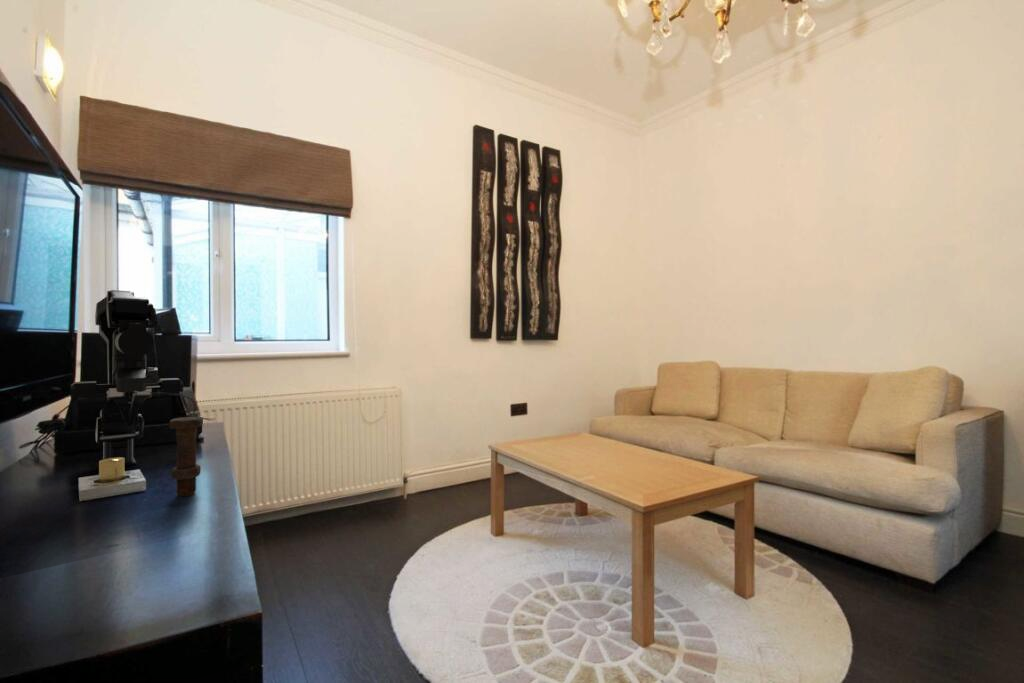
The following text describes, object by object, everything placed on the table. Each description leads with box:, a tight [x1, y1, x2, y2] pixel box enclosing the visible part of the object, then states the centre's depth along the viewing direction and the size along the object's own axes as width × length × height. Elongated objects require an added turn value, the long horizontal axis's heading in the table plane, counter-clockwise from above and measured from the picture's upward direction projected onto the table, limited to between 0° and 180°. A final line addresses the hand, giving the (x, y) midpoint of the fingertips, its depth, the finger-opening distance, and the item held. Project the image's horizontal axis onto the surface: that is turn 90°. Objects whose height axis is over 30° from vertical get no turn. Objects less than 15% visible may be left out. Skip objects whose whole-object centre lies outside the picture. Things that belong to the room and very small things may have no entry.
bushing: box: [98, 458, 126, 483], centre depth 98 cm, size 4×4×6 cm
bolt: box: [168, 416, 204, 497], centre depth 94 cm, size 6×5×15 cm
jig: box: [78, 468, 147, 502], centre depth 98 cm, size 12×10×2 cm
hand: (129, 427), depth 103 cm, fingers closed
